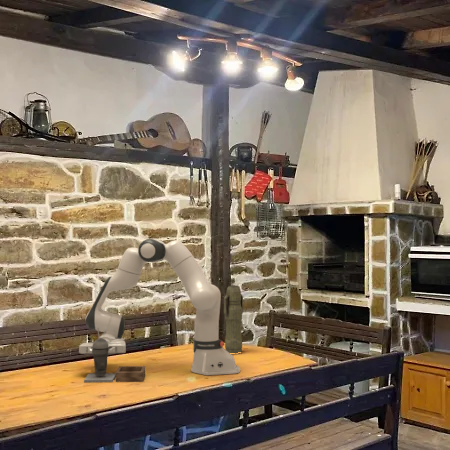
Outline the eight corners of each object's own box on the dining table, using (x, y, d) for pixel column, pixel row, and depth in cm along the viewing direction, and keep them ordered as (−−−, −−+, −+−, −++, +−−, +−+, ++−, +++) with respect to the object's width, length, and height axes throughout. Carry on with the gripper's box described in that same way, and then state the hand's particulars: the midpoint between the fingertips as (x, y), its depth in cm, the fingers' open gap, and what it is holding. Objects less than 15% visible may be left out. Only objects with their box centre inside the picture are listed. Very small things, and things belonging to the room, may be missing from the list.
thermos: (219, 353, 318) (219, 286, 318) (235, 350, 326) (235, 284, 326) (231, 355, 312) (231, 287, 312) (247, 352, 320) (247, 285, 320)
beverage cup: (105, 377, 259) (105, 329, 259) (89, 376, 260) (89, 329, 260) (111, 373, 266) (111, 327, 266) (96, 372, 267) (96, 326, 267)
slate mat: (116, 375, 269) (116, 373, 269) (112, 382, 257) (112, 379, 257) (88, 375, 268) (88, 373, 268) (83, 382, 256) (83, 380, 257)
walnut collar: (145, 375, 270) (145, 366, 270) (143, 381, 258) (143, 372, 258) (118, 375, 269) (118, 366, 269) (115, 381, 257) (115, 372, 257)
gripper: (81, 338, 275) (75, 344, 262) (127, 338, 276) (123, 344, 263) (81, 352, 275) (75, 359, 261) (127, 352, 276) (123, 358, 263)
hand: (100, 351), depth 262 cm, fingers closed on beverage cup, 7 cm apart
